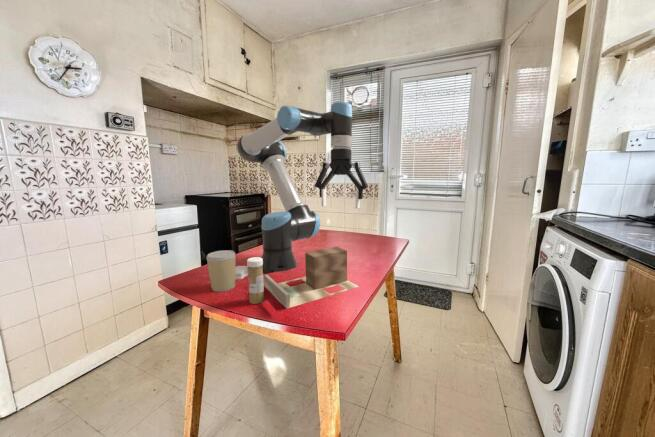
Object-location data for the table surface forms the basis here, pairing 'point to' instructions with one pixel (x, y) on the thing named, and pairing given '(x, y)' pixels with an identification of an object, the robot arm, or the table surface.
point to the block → (326, 267)
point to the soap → (241, 272)
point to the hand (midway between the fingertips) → (340, 207)
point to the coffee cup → (222, 270)
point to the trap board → (299, 291)
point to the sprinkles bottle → (255, 280)
